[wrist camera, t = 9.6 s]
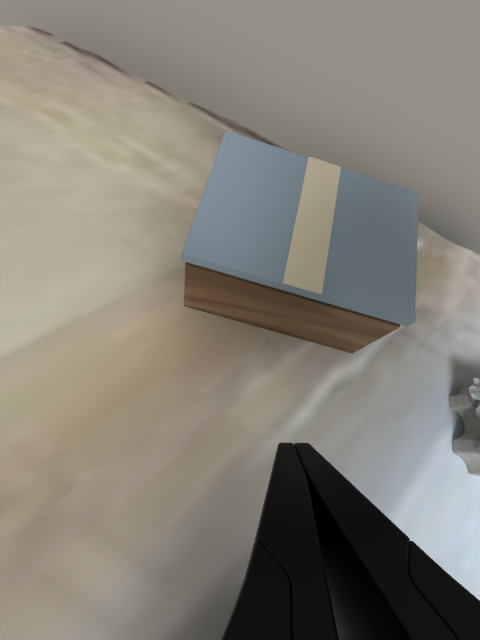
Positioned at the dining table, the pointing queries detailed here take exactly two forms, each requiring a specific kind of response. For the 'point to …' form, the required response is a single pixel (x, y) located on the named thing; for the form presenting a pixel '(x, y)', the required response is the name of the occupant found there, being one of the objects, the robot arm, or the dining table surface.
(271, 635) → the robot arm
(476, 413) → the egg carton
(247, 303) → the walnut box
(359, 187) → the box lid
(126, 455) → the dining table surface
